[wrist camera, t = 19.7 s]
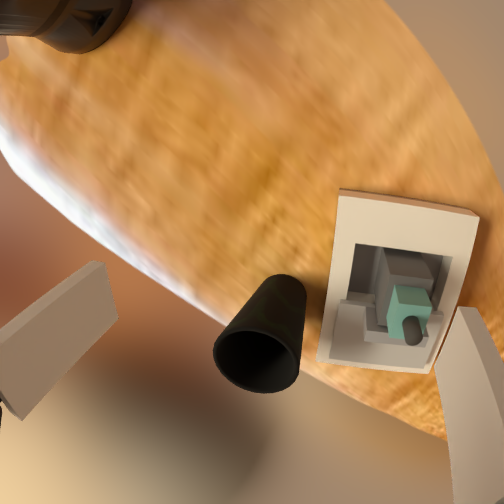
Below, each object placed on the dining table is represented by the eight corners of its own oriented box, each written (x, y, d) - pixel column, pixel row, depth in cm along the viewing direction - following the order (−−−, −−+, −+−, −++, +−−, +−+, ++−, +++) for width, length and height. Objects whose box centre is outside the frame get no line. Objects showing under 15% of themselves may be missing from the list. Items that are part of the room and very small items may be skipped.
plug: (382, 244, 30) (397, 306, 20) (418, 249, 29) (448, 311, 19) (373, 287, 32) (380, 361, 22) (408, 292, 31) (427, 365, 21)
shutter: (340, 299, 31) (337, 326, 26) (442, 311, 28) (453, 339, 24) (329, 353, 33) (325, 383, 29) (422, 364, 31) (428, 393, 26)
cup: (329, 294, 35) (318, 365, 24) (288, 333, 38) (264, 405, 28) (276, 252, 35) (242, 310, 24) (238, 296, 38) (198, 359, 28)
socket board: (339, 188, 30) (338, 195, 27) (467, 208, 27) (479, 217, 24) (318, 343, 38) (315, 361, 35) (424, 355, 34) (428, 373, 31)
